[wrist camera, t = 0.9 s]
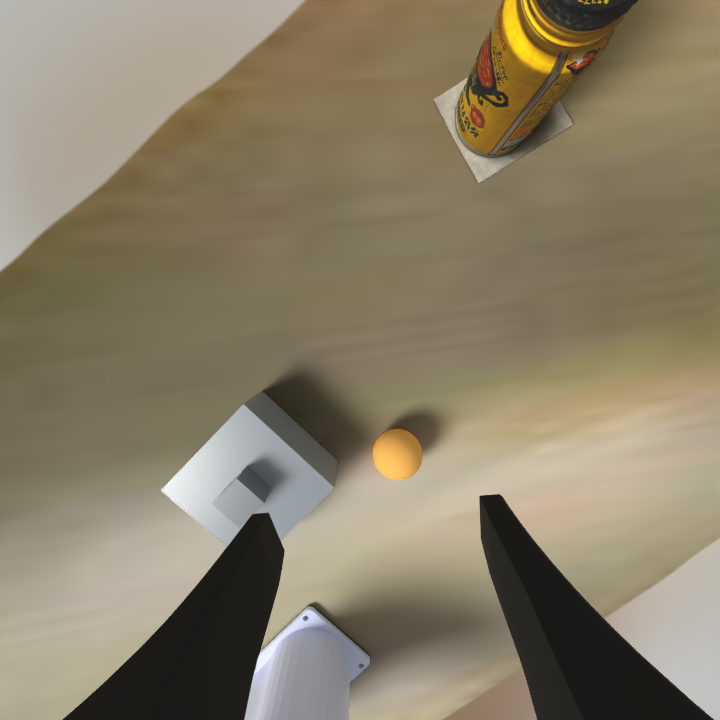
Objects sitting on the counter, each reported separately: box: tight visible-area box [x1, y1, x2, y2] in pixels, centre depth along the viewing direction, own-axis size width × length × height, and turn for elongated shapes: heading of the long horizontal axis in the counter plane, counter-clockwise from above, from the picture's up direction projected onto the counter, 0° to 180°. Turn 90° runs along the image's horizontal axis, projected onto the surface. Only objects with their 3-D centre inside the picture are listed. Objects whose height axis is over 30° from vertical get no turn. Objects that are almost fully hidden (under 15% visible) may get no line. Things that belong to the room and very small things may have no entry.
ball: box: [373, 429, 422, 480], centre depth 27 cm, size 4×4×4 cm
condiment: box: [434, 0, 638, 183], centre depth 20 cm, size 7×8×12 cm
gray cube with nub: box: [161, 391, 338, 547], centre depth 26 cm, size 9×9×7 cm
